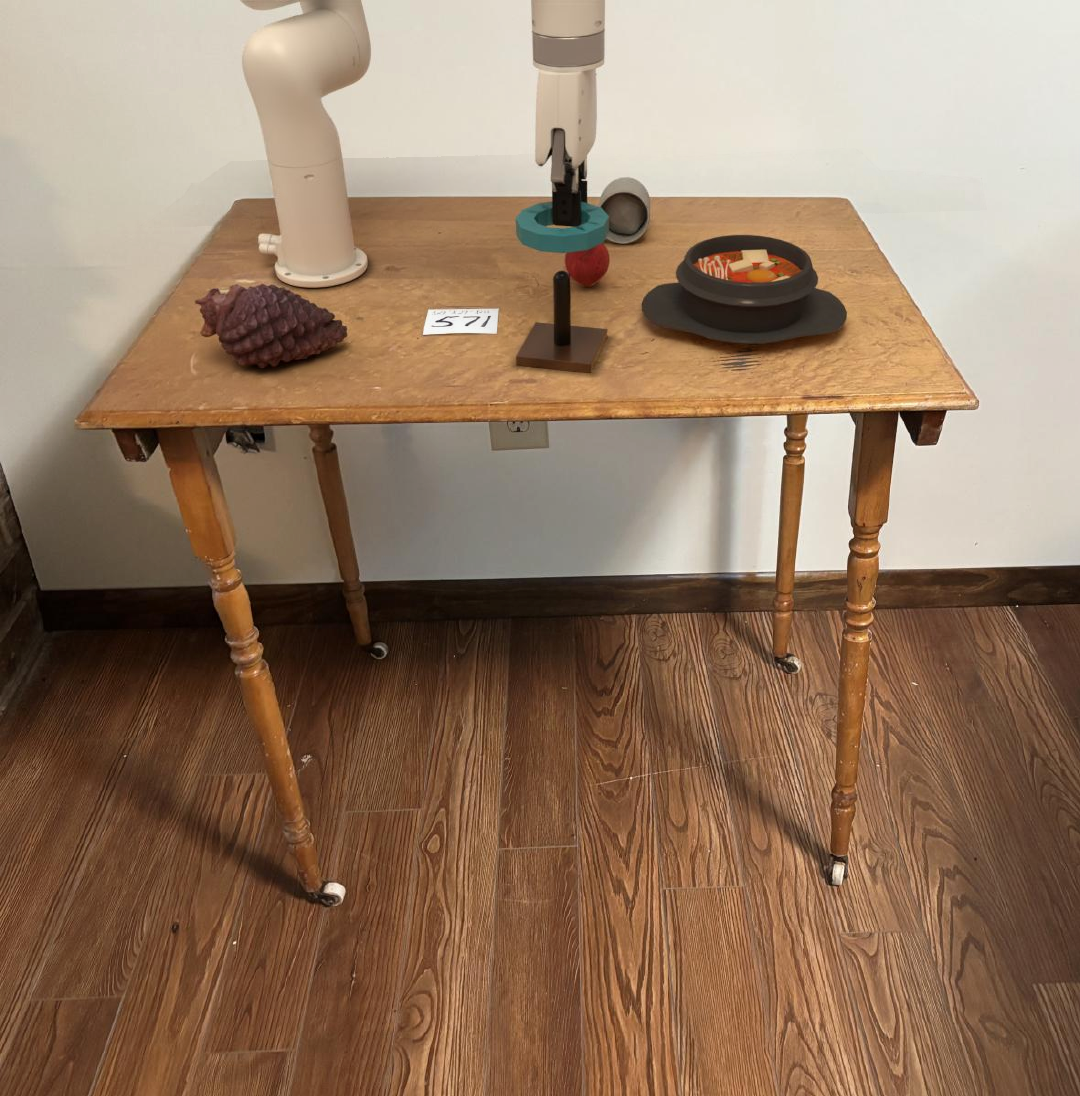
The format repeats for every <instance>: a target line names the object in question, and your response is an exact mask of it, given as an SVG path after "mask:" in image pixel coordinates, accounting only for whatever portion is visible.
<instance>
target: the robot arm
mask: <svg viewBox="0 0 1080 1096" xmlns="http://www.w3.org/2000/svg"><path fill="white" fill-rule="evenodd" d="M239 1H240V2H241V3H242V4H243V5H244V6H245V7H247V8H249V9H251V10H254V11H255V10H256V11H269V10H271V11H272V10H275V9H279V8H283V7H285V6H290V5H292V4H296V3H299V4H300V8H301V12H302V13H301V14H297V15H291V16H289V17H286V18H283V19H280V20H277V21H274V22H271V23H269V24H266V25H264V26H263V27H261V28H259V29H258V30H256V31H254V33H252V35H250V37H249V38H248V40H246V42H245V45H244V47H243V50H242V55H241V63H242V64H241V66H242V67H241V68H242V72H243V76H244V80H245V82H246V85H247V88H248V91H249V93H250V96H251V98H252V101H253V104H254V107H255V110H256V113H257V117H258V120H259V124H260V128H261V132H262V133H261V134H262V138H263V144H264V149H265V154H266V155H265V156H266V159H267V160H266V161H267V166H268V170H269V176H270V182H271V187H272V192H273V198H274V204H275V211H276V215H277V220H278V228H279V233H280V234H279V235H278V234H277V235H276V234H272V233H259V234H258V240H257V243H258V251H259V253H260V254H262V255H264V254H265V255H274V256H275V257H277V260H276V261H275V264H274V270H275V271H274V272H275V275H276V277H277V278H278V279H279V280H280V281H281V282H283V283H285V284H287V285H291V286H294V287H299V288H313V289H315V288H327V287H328V288H329V287H333V286H338V285H342V284H345V283H348V282H351V281H353V280H355V279H357V278H358V277H361V275H363V274H364V273H365V272H366V271H367V269H368V267H369V266H368V265H369V262H368V255H367V253H366V252H364V250H362V249H361V248H358V247H356V246H355V242H354V235H353V234H354V233H353V227H352V221H351V212H350V205H349V197H348V190H347V181H346V175H345V167H344V159H343V153H342V146H341V145H342V144H341V141H340V140H341V139H340V134H339V132H338V129H337V126H336V125H335V122H334V120H333V119H332V117H331V116H330V115H329V112H328V111H327V110H326V108H325V106H324V104H323V101H322V98H325V97H326V96H328V95H329V94H331V93H335V92H337V91H340V90H342V89H344V88H347V87H349V86H351V85H354V84H356V83H357V82H358V81H360V80H361V79H363V77H364V76H365V75H366V73H367V72H368V70H369V67H370V64H371V58H372V44H371V38H370V32H369V28H368V22H367V19H366V15H365V10H364V7H363V2H362V0H239ZM530 6H531V7H530V8H531V37H532V38H531V45H532V46H531V47H532V48H531V49H532V65H533V67H535V69H538V75H537V84H536V99H535V100H536V101H535V138H534V139H535V141H534V143H535V145H534V146H535V147H534V148H535V150H534V159H535V163H536V165H537V166H538V167H541V168H542V167H543V166H545V165H546V164H547V162H548V161H549V159H550V158H551V166H550V182H551V202H552V218H553V224H554V225H553V226H558V227H568V228H570V227H578V226H580V224H581V202H586V203H588V180H587V177H588V176H587V175H588V155H589V153H590V151H591V150H592V148H593V147H594V145H595V142H596V137H597V123H598V120H597V119H598V99H597V98H598V97H597V96H598V95H597V94H598V92H597V89H598V88H597V69H598V68H601V67H602V66H604V64H605V54H606V53H605V52H606V51H605V50H606V48H605V47H606V0H530Z"/></svg>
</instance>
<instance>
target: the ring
mask: <svg viewBox="0 0 1080 1096" xmlns="http://www.w3.org/2000/svg"><path fill="white" fill-rule="evenodd" d="M549 226H555V225H554V224H553V218H552V201H544V202H538V203H536V204H533V205H530V206H528V207H526V208H523V209H521V210H520V211H519V213H518V215H517V216H516V217H515V236H516V238H517V239H518V240H519V242H520V243H521V245H522V246H524V247H527V248H530V249H533V250H535V251H537V252H543V253H554V254H566V253H569V252H576V251H584V250H588V249H590V248H593V247H595V246H597V245H599V244H601V243H605V241H606V240H607V239H606V237H607V235H608V233H609V216H608V215H607V214H606V212H605V211H604V210H603V209H602V208H601V207H598V205H596V204H595V205H594V204H592V203H588V202H587V203H586V202H581V224H580V226H578V227H563V228H562V227H549Z"/></svg>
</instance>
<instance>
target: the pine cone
mask: <svg viewBox="0 0 1080 1096" xmlns="http://www.w3.org/2000/svg"><path fill="white" fill-rule="evenodd" d="M194 305H199V306H200V308H199V312H200V314H201V317H202V318H203V320H204V323H203V326H202V328H201V329H200V331H199V332H200V333H199V334H200V335H201V336H202V337H204V338H210V337H213V336H214V335H217V336H218V342H219V343H221V344H220V346H221V347H222V349H223V350H224V351H225V353H226V354H227V355H231V358H232V359H233V360H234V361H237V363H238V364H239V365H240V366H249V365H250V366H255V365H257V367H258V368H260V369H264V368H266V367H267V366H268V365H270V366H272V367H276V366H278V364H279V363H280V361H283V362H285V363H288V362H291V361H292V360H297V361H299V360H305V359H307V358H308V357H311V356H312V355H320V354H321V353H322V351H327V350H329V348H330V347H335V346H337V345H338V344H339V343H342V342H344V340H345V339H346V338H348V327H347V325H343V321H342V320H341V319H335V318H336V315H335V314H334V312H330V311H329V310H328V309H327V308H326V307H324V308H322V307H319V306H317V304H316V303H314V302H310V300H308V299H305V298H302V296H301V295H300V294H298V293H294V292H293V291H291V290H290V289H287V288H285V287H284V286H282V287H278V286H277V285H276V284H269V285H267V284H265V283H260V284H259V285H255V286H249V287H248V288H246V287H244V286H241V285H239V284H238V283H237V284H236V283H235V284H233V285H230V286H229V290H228V292H227V293H221V291H220V289H219V288H216V287H215V288H211V289H209V290H208V293H207V294H206V296H204V297H202V298H199V299H196V300H194Z"/></svg>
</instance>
